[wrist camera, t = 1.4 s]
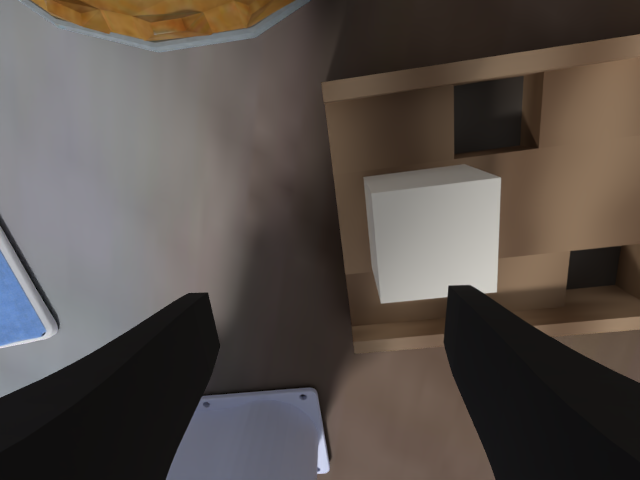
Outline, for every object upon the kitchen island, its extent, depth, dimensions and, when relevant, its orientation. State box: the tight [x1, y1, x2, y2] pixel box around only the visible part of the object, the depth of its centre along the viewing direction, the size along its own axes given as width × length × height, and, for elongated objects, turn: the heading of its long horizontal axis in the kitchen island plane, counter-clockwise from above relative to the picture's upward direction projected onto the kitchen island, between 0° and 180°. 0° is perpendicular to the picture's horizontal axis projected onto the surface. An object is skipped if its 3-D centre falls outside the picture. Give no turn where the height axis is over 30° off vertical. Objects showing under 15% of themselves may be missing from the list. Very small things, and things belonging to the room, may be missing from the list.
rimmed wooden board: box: [321, 34, 640, 354], centre depth 18 cm, size 22×14×4 cm, turn 98°
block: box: [363, 164, 501, 304], centre depth 16 cm, size 5×5×4 cm
